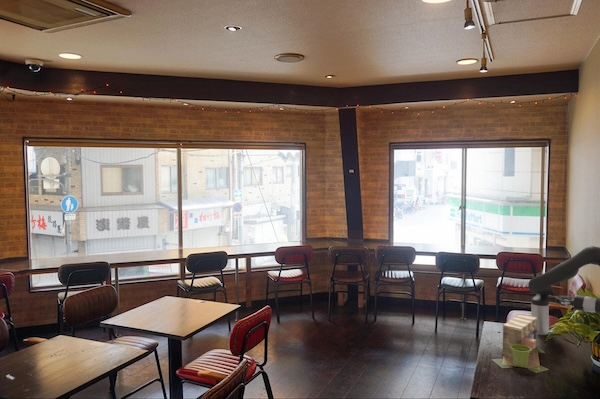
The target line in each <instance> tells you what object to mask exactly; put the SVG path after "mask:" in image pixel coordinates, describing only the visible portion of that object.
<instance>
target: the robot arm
mask: <svg viewBox="0 0 600 399" xmlns="http://www.w3.org/2000/svg"><path fill="white" fill-rule="evenodd" d="M586 265H595V266H598V267H600V246H595V245H589V246H586V247H584V248H583V249H582V250H580V251H579V252H577V254H575V255H573V256H571V257H570V258H568V259H566V260H565V261H563V262H561V263H559V264H558V265H556V266H554V267H552V268H550V269H548V271H546V272H543V273H542V274H540V275H537V276H534V277H532V278H531V279H530V280H529V281H528V284H527V285H528V290H529V291H530V292H532V293H534V294H535V295H534V296H533V297H532V298H531V302H530V303H531V306H530V307H531V308H530V309H531V312H530V313H531V314H530V316H532V317H537V331H538V336H546V335H548V334H549V332H550V316H549V311H550V308H549V306H550V302H553V301H554V302H555V303H556V304H558V305H560V306H568V307H569V306H573V310H576V311H581V312H587V313H596V314H600V298H598V297H597V298H596V297H593V296H587V295H582V294H576V295H574V297H572V296H571V295H556V296H555V295H552V285H555V284H556V285H558V284H559V283H563V282H566V281H569V280H570V279H572V278H574V277H576V276H577V275H578V273H579V271H580V268H582V267H585V266H586Z"/></svg>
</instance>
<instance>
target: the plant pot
mask: <svg viewBox="0 0 600 399" xmlns="http://www.w3.org/2000/svg"><path fill="white" fill-rule="evenodd" d="M510 348H511V350H512V354H513V358H512V360H513V361H512V362H513V365H515V366H516V367H517V366H518V367H520V368H525V367H527V366H528V362H529V356H530V353H531V352H532V351H531V348H530V347H528V346H525V345H520V344H514V345H511V346H510ZM530 351H531V352H530Z"/></svg>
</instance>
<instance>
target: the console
mask: <svg viewBox="0 0 600 399" xmlns="http://www.w3.org/2000/svg"><path fill="white" fill-rule="evenodd" d="M534 330H537V317H532V316H531V315H525V314H522V313H521V314H518V315H516V316H515V317H514V318H512V319H510V320H508V321H506V322H505V323H504V324H503V325H502V356H503V357H506V358H507V357H508V358H512V359H513V354H512V350H511V348H510V346H511V345H514V344H520V345H523V338H524V337H527V338H528V334H532V331H534ZM537 340H538V339H536V348H537V345H538V344H537V342H538V341H537ZM533 350H534V349H531V351H530V353H531V352H532V351H533Z"/></svg>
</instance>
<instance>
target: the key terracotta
mask: <svg viewBox="0 0 600 399" xmlns="http://www.w3.org/2000/svg"><path fill="white" fill-rule="evenodd" d="M523 345H525V346H528V347H530V348H531V349H533V350H535V349H536V348H537V347H536V339H531V338H527V337H524V338H523Z"/></svg>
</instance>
